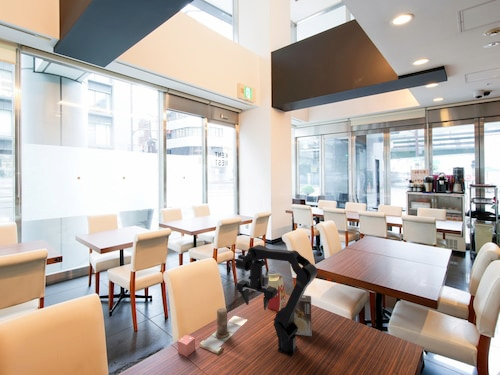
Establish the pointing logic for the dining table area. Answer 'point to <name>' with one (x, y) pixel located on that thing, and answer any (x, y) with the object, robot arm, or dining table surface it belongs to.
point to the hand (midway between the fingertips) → (256, 307)
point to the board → (215, 343)
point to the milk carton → (280, 298)
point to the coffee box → (303, 316)
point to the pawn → (222, 324)
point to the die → (186, 345)
